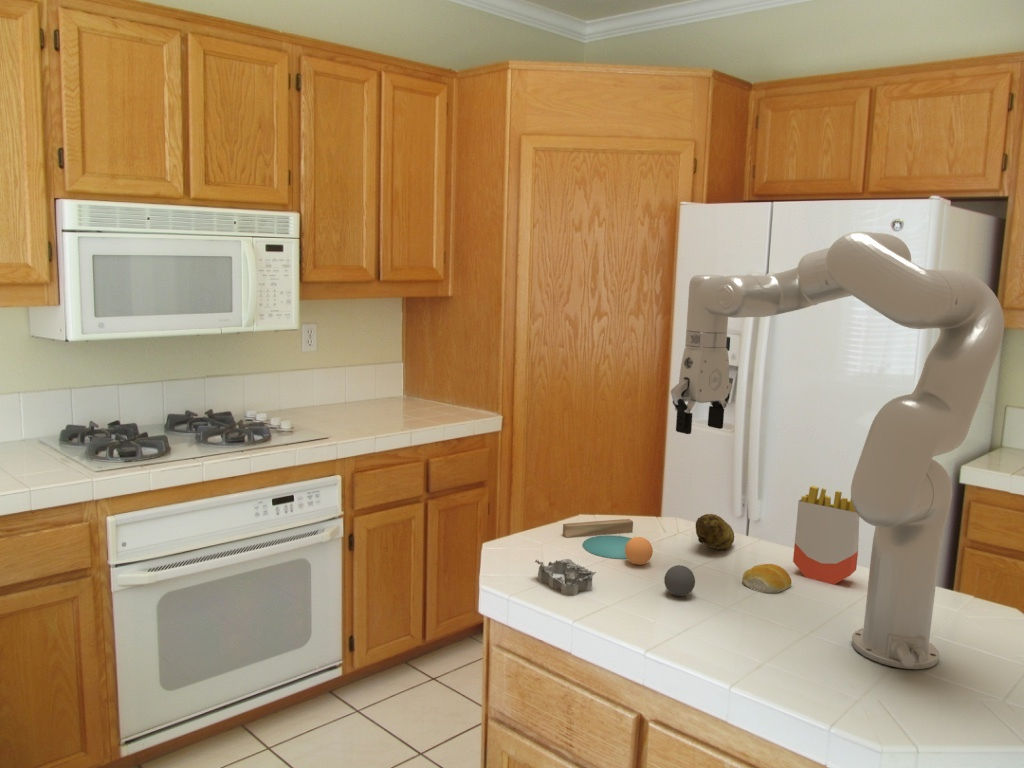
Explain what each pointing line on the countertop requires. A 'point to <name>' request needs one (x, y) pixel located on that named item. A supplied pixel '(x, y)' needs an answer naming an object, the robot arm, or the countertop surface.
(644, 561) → the object ball
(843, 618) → the countertop surface
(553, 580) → the egg carton
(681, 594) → the dark gray ball
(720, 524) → the potato
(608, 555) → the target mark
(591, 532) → the wooden block
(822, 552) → the french fries container
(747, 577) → the bread roll
